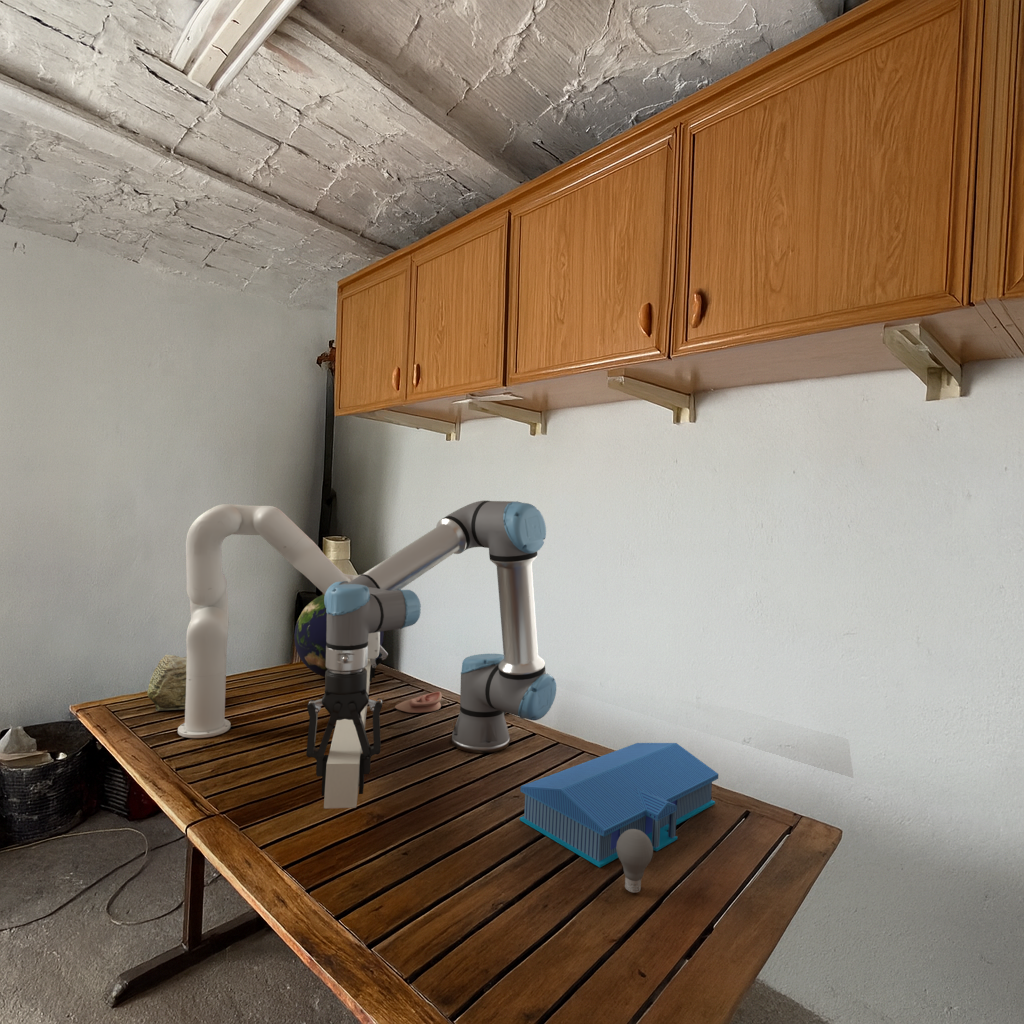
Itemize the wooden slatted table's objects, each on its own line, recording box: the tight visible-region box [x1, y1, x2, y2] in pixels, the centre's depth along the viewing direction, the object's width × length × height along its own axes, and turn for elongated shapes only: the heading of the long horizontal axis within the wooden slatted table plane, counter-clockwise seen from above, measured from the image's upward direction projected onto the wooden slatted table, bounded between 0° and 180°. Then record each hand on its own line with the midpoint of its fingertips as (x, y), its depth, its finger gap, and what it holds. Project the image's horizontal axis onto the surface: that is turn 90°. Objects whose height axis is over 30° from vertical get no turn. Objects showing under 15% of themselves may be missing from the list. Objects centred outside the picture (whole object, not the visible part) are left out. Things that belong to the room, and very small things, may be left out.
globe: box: [293, 593, 385, 678], centre depth 220 cm, size 30×30×30 cm
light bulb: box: [616, 829, 654, 894], centre depth 106 cm, size 6×6×10 cm
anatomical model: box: [394, 691, 443, 714], centre depth 193 cm, size 13×4×12 cm
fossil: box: [147, 654, 187, 712], centre depth 185 cm, size 9×18×15 cm, turn 132°
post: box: [323, 659, 371, 810], centre depth 150 cm, size 76×6×8 cm, turn 11°
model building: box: [519, 742, 719, 868], centre depth 132 cm, size 39×24×10 cm, turn 132°
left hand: (359, 679), depth 182 cm, fingers closed on post, 5 cm apart
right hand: (343, 791), depth 118 cm, fingers closed on post, 6 cm apart
